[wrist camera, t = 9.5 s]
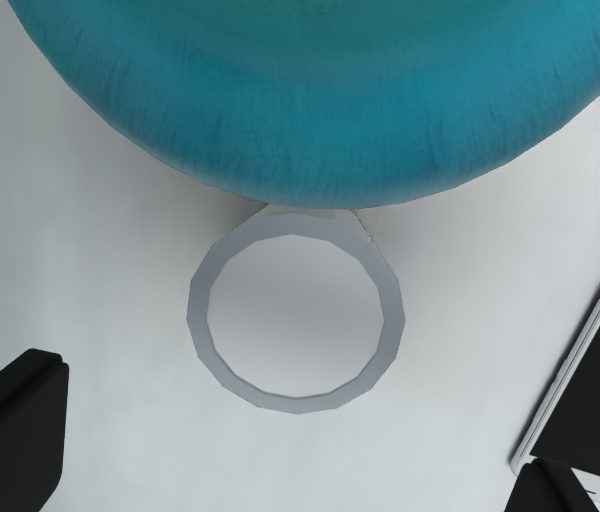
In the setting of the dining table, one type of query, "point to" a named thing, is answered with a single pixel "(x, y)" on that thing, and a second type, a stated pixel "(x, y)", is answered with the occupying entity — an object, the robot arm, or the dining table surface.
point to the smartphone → (571, 414)
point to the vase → (326, 87)
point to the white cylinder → (296, 310)
